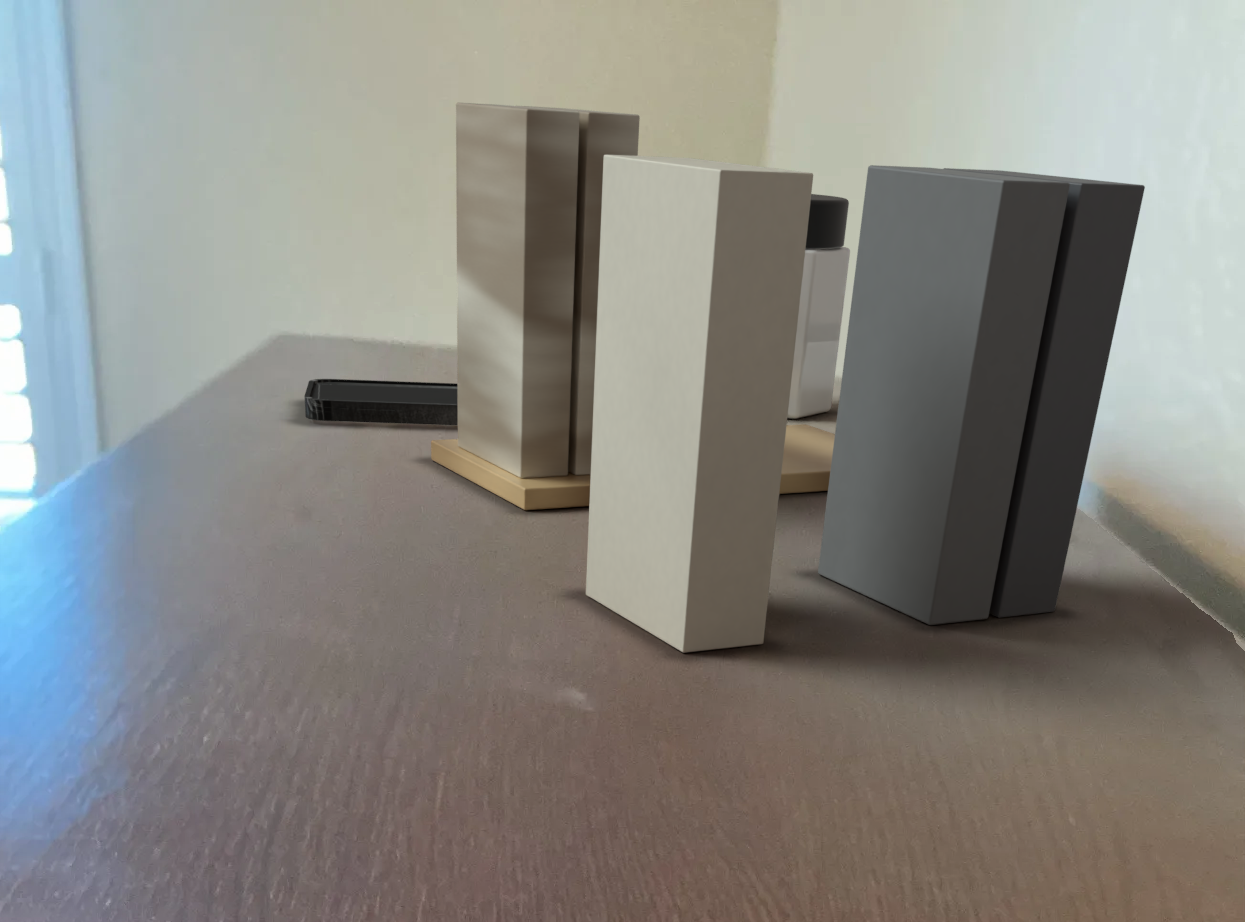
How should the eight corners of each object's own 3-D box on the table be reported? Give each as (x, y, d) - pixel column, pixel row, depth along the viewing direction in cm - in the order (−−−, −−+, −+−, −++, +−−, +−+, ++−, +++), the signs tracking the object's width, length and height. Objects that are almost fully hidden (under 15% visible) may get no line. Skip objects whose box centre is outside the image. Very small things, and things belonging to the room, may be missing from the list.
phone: (309, 378, 94) (552, 386, 96) (311, 398, 95) (551, 406, 96) (303, 400, 88) (563, 408, 89) (304, 421, 88) (562, 429, 90)
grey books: (936, 563, 69) (1001, 171, 60) (1055, 612, 63) (1146, 185, 54) (816, 574, 66) (867, 165, 58) (929, 626, 60) (1003, 180, 52)
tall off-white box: (660, 588, 63) (689, 158, 54) (763, 644, 57) (814, 173, 49) (585, 595, 61) (602, 155, 53) (682, 653, 56) (720, 169, 47)
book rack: (803, 442, 91) (840, 123, 82) (925, 485, 83) (981, 133, 74) (430, 460, 82) (425, 100, 73) (524, 511, 73) (531, 110, 64)
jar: (829, 402, 104) (853, 196, 97) (832, 422, 97) (859, 203, 91) (698, 393, 105) (714, 187, 98) (692, 412, 98) (708, 194, 91)
